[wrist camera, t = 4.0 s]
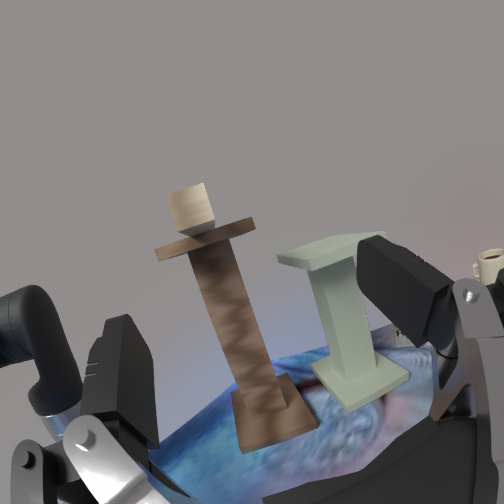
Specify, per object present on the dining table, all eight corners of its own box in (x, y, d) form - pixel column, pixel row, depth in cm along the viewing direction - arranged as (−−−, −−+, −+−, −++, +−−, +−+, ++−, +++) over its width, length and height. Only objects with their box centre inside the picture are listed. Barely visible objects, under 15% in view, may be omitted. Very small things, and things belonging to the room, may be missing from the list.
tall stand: (242, 453, 33) (154, 249, 31) (233, 397, 51) (175, 248, 49) (318, 427, 34) (251, 216, 32) (288, 378, 52) (238, 227, 50)
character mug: (519, 305, 35) (516, 246, 34) (513, 322, 32) (512, 257, 31) (479, 305, 45) (474, 250, 44) (470, 320, 42) (465, 261, 41)
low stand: (347, 413, 35) (308, 259, 33) (311, 369, 53) (276, 255, 51) (409, 378, 36) (384, 231, 35) (360, 346, 54) (332, 235, 53)
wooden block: (177, 231, 20) (166, 195, 20) (198, 240, 48) (193, 223, 48) (214, 219, 21) (203, 182, 21) (214, 234, 49) (209, 218, 48)
